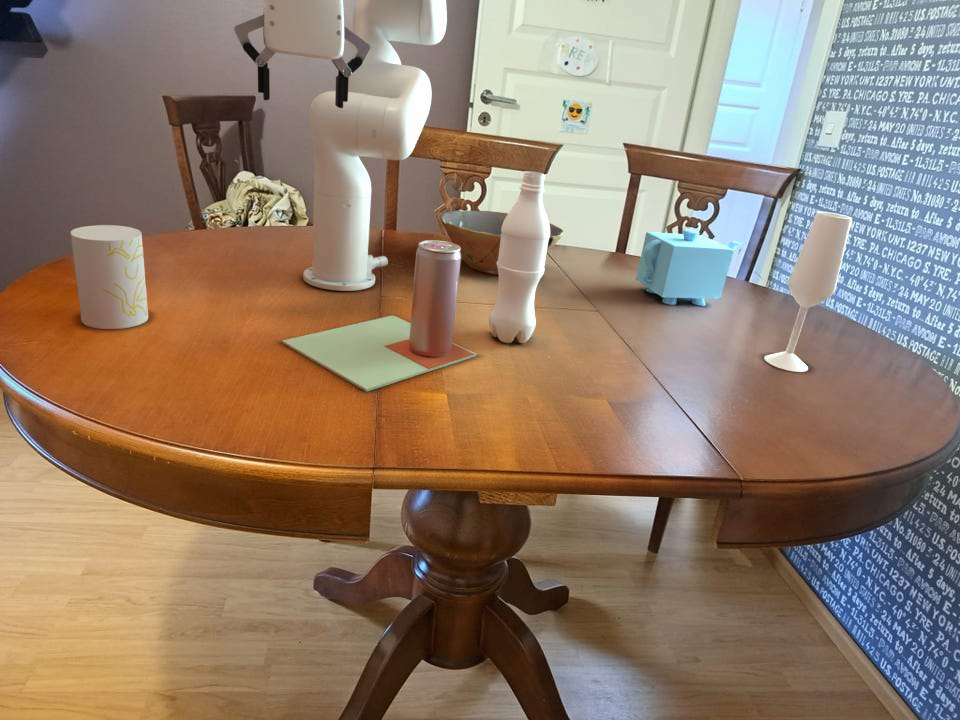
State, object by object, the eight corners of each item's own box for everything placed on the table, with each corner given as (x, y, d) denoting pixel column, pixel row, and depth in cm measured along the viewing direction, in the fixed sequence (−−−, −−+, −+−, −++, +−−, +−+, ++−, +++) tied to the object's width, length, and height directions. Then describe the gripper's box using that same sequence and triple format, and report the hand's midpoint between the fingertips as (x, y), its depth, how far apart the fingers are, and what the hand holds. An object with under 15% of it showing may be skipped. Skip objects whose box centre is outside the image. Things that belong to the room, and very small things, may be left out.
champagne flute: (813, 365, 108) (864, 218, 98) (801, 375, 103) (853, 221, 93) (771, 351, 111) (816, 208, 102) (758, 360, 106) (804, 211, 97)
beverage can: (408, 340, 96) (417, 237, 90) (449, 343, 96) (460, 242, 90) (408, 356, 90) (417, 248, 84) (451, 359, 91) (463, 253, 85)
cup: (121, 333, 87) (112, 244, 82) (67, 322, 88) (55, 233, 84) (161, 314, 95) (154, 231, 90) (110, 304, 96) (101, 222, 91)
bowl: (579, 281, 138) (588, 233, 134) (490, 294, 122) (497, 241, 118) (499, 249, 155) (505, 207, 151) (412, 257, 139) (416, 210, 135)
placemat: (392, 317, 105) (393, 314, 105) (476, 356, 94) (476, 353, 94) (282, 343, 90) (282, 339, 90) (366, 392, 80) (366, 388, 80)
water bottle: (537, 335, 105) (564, 174, 95) (525, 350, 99) (553, 179, 89) (495, 325, 107) (517, 167, 97) (480, 339, 100) (502, 171, 91)
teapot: (647, 305, 128) (663, 234, 122) (622, 287, 137) (636, 221, 132) (744, 308, 134) (763, 241, 128) (713, 290, 143) (730, 227, 138)
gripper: (368, -27, 90) (362, 107, 96) (232, -50, 84) (236, 94, 91) (378, -32, 83) (371, 112, 90) (231, -58, 77) (235, 98, 84)
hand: (303, 103), depth 90 cm, fingers open, 9 cm apart
